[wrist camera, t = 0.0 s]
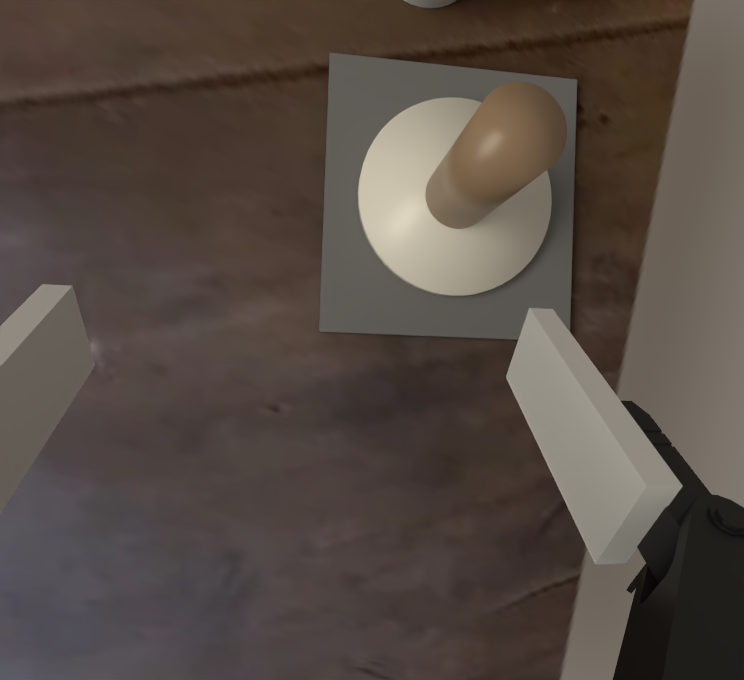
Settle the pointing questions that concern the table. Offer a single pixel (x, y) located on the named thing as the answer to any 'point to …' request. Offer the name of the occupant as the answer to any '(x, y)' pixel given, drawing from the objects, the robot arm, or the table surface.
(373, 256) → the mat
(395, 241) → the lid
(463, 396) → the table surface
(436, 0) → the coffee cup
